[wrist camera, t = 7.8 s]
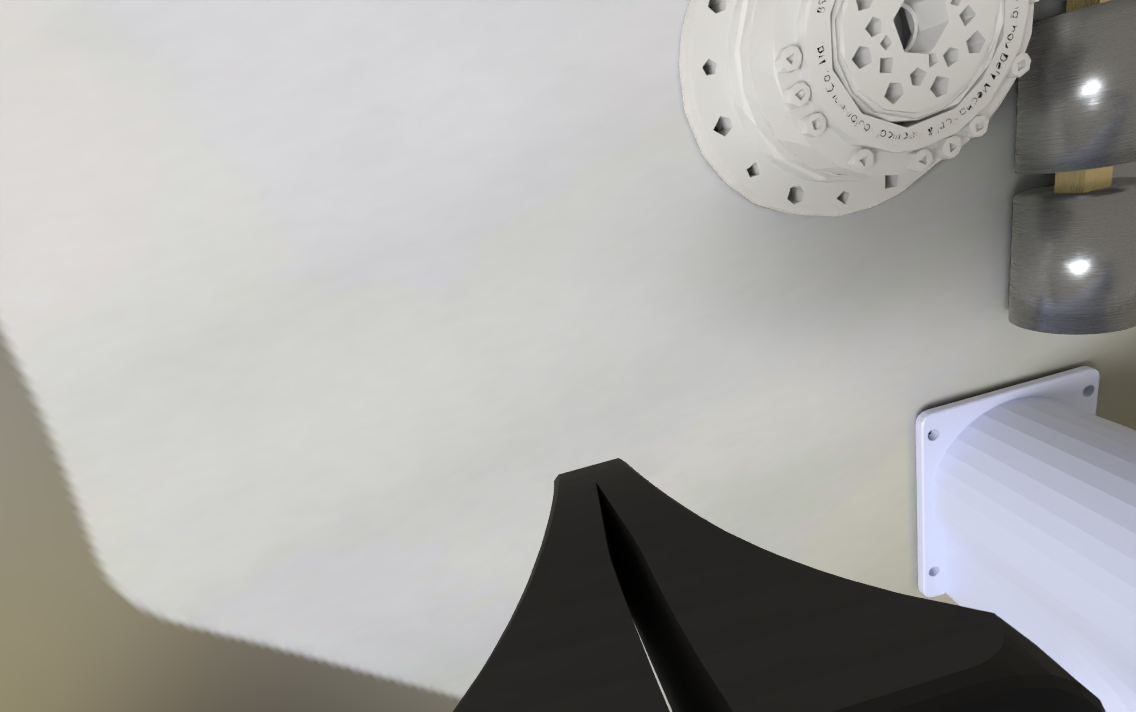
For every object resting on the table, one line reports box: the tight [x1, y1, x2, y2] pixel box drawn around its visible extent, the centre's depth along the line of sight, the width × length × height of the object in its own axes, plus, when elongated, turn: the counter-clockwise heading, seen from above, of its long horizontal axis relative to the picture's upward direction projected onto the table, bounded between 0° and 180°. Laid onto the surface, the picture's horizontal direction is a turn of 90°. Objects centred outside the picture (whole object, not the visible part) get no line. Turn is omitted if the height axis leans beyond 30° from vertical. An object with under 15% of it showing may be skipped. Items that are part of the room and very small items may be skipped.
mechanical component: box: [679, 0, 1039, 216], centre depth 16 cm, size 10×4×10 cm
